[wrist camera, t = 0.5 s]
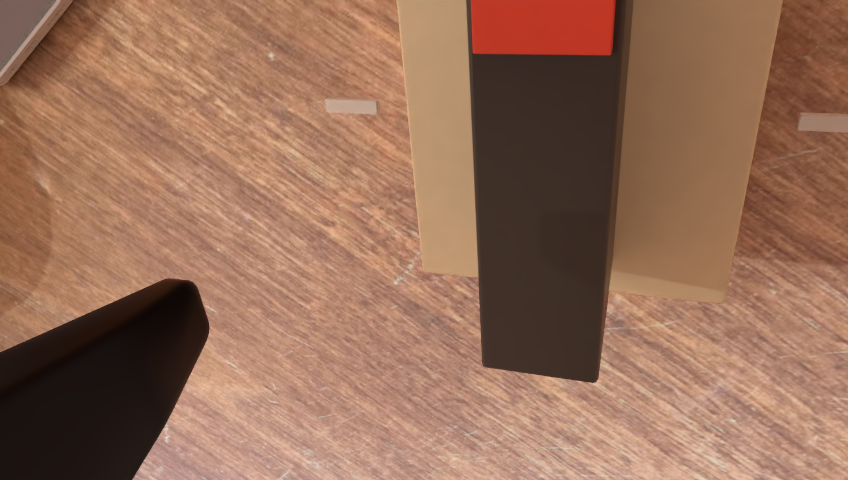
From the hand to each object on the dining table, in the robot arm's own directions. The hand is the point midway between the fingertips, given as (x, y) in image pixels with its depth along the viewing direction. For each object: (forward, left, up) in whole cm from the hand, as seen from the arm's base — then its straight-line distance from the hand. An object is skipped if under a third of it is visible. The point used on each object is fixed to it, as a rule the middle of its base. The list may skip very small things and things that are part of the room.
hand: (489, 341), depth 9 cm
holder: (0, 0, -8) cm, 8 cm away
